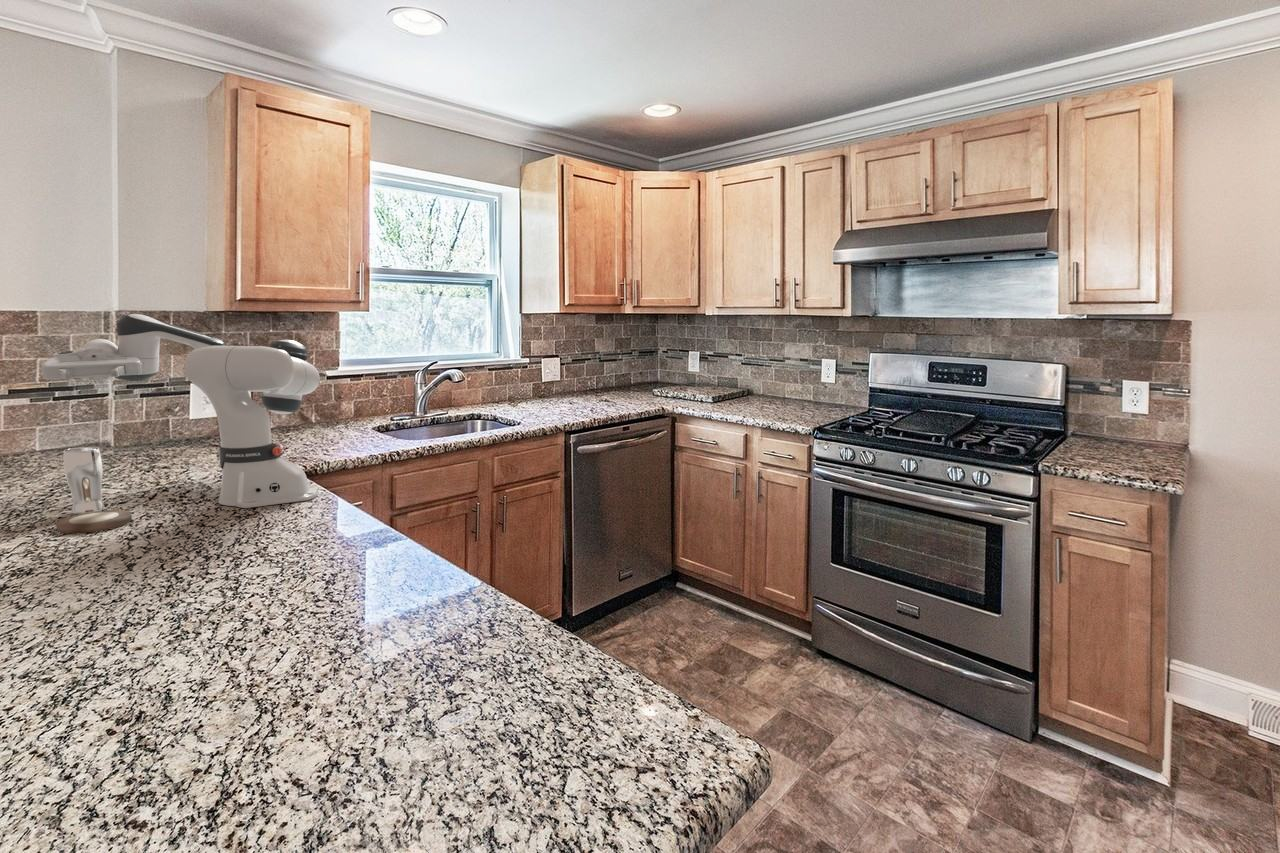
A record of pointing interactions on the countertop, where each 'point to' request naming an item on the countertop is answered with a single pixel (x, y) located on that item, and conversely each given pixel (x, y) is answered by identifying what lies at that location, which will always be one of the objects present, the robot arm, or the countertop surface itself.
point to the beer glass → (84, 478)
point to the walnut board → (93, 521)
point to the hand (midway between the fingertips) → (91, 375)
